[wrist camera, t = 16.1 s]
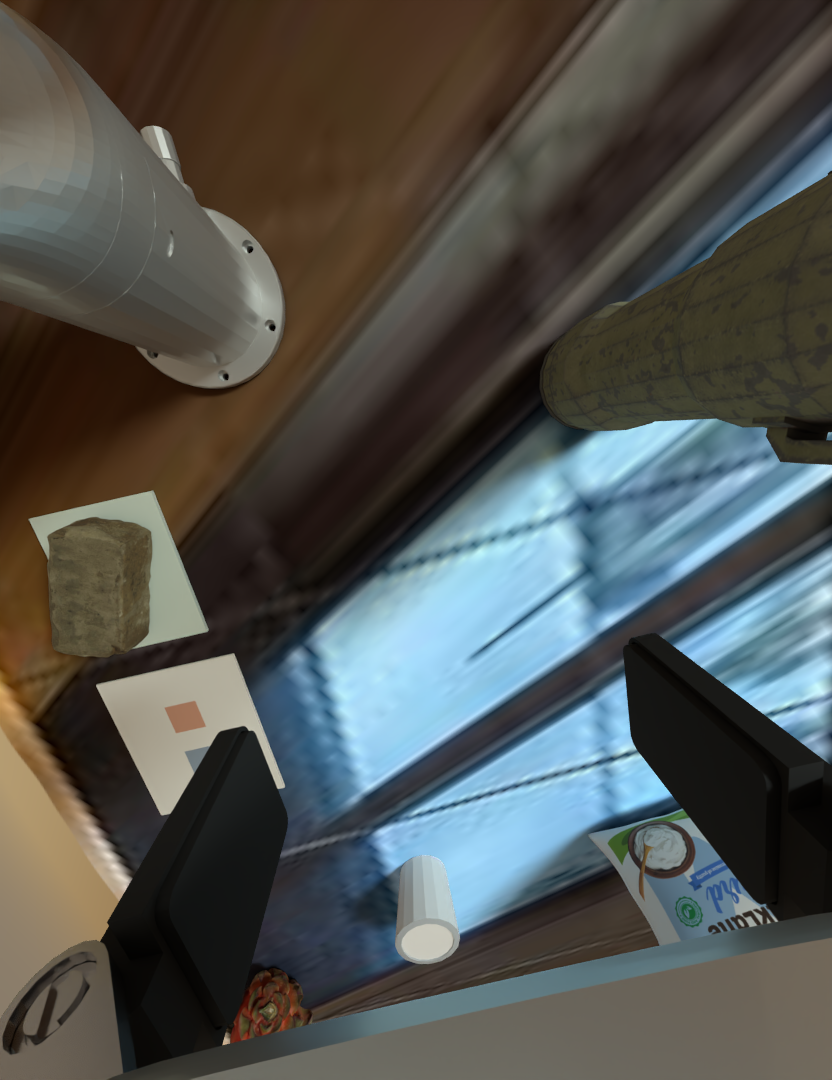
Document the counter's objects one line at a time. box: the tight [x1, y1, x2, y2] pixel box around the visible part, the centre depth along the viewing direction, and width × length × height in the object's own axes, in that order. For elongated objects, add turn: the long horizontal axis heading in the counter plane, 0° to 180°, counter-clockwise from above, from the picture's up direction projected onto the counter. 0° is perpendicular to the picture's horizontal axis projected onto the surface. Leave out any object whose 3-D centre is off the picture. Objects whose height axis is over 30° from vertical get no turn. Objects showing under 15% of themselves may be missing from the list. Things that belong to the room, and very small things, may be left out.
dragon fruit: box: [230, 968, 313, 1043], centre depth 49 cm, size 8×8×12 cm
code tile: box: [96, 653, 285, 815], centre depth 42 cm, size 17×14×1 cm
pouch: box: [588, 809, 779, 946], centre depth 39 cm, size 8×19×20 cm, turn 107°
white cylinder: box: [395, 855, 460, 964], centre depth 45 cm, size 7×7×7 cm
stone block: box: [47, 517, 152, 657], centre depth 34 cm, size 6×12×5 cm, turn 170°
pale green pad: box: [29, 491, 209, 649], centre depth 37 cm, size 14×11×1 cm
